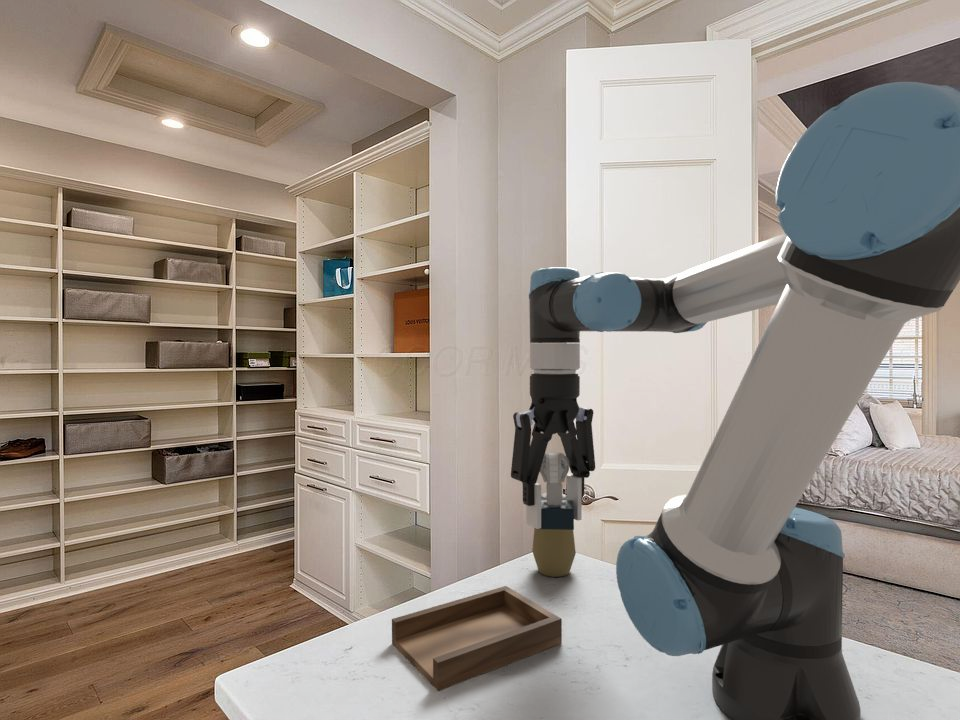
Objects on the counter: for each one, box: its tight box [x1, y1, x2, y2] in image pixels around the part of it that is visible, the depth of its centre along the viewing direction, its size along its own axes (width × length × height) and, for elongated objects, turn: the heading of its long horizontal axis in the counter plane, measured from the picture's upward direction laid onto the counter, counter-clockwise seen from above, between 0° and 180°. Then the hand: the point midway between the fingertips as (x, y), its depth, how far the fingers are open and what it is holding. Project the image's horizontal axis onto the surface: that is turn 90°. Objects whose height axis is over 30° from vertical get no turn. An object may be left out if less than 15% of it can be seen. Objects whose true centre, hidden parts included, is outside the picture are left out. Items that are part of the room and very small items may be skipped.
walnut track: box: [391, 585, 563, 692], centre depth 80 cm, size 13×20×4 cm
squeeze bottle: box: [531, 492, 576, 578], centre depth 105 cm, size 8×8×18 cm
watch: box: [539, 451, 575, 531], centre depth 86 cm, size 6×8×11 cm
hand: (554, 521), depth 86 cm, fingers closed on watch, 7 cm apart
